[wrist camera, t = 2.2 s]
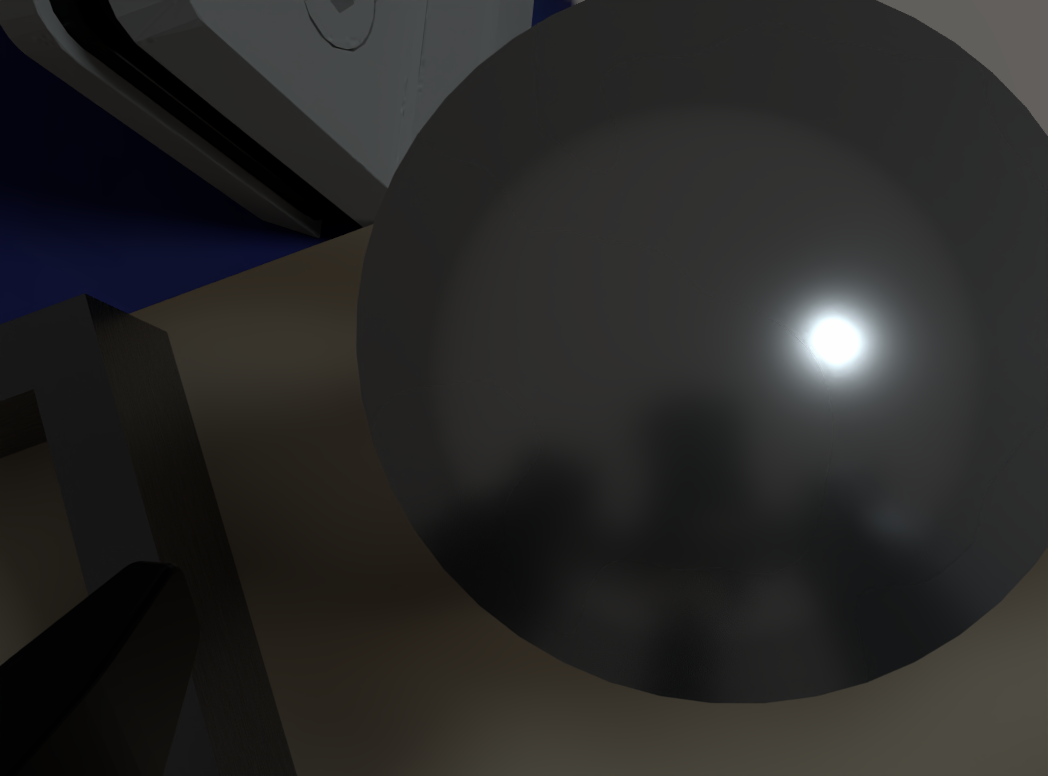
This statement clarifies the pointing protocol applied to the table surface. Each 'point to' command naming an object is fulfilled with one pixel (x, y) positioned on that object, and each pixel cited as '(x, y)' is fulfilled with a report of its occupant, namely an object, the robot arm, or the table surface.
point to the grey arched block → (271, 85)
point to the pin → (719, 342)
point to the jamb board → (446, 608)
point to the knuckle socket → (143, 507)
